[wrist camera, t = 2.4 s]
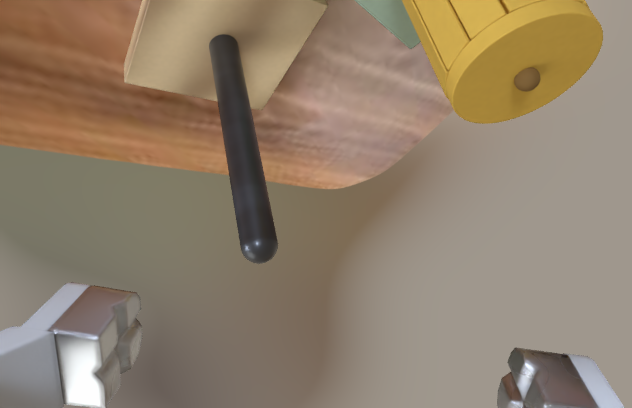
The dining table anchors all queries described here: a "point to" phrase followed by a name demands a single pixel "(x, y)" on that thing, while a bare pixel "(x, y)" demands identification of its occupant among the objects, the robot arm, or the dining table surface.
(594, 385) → the robot arm
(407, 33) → the display block
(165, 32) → the peg stand
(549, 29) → the slatted lidded canister
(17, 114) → the dining table surface
